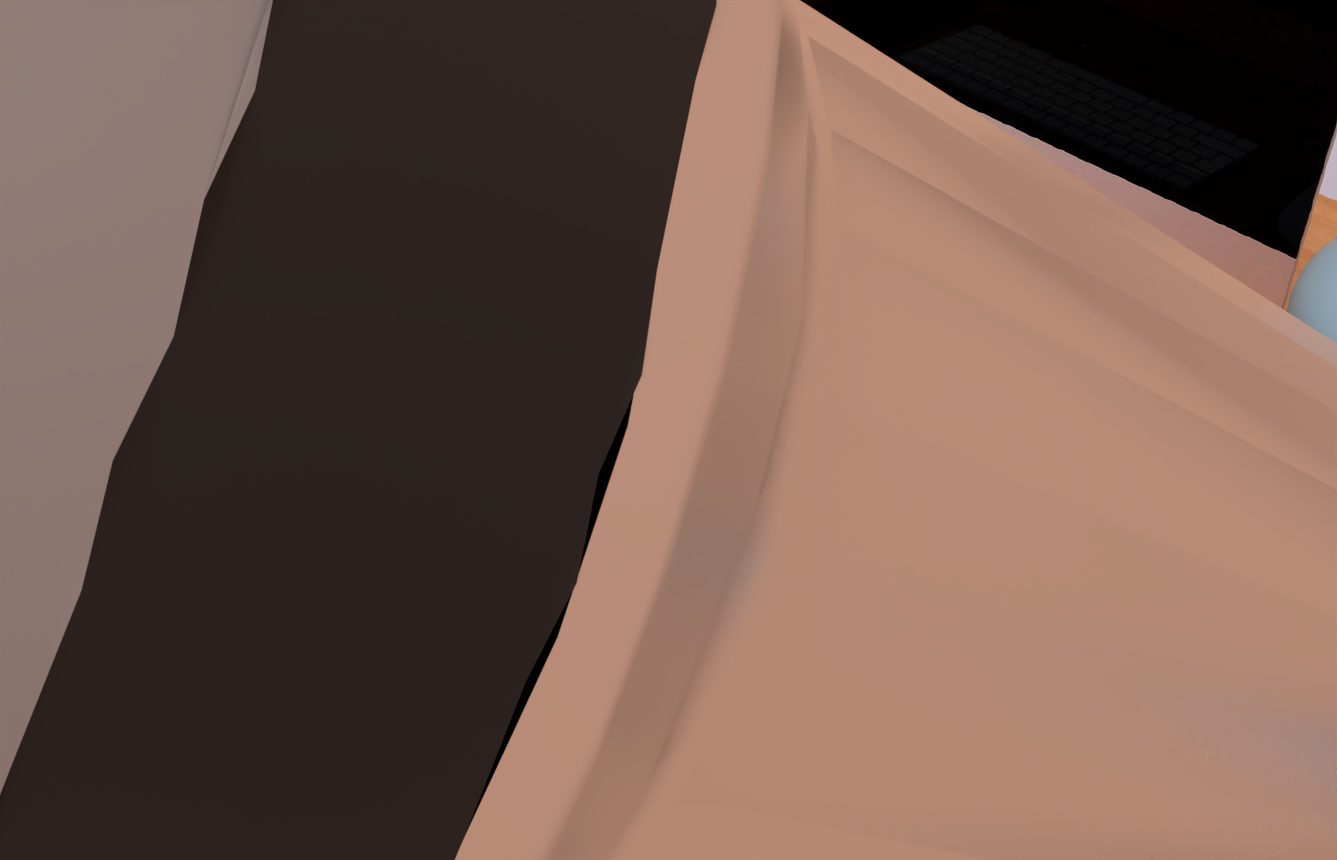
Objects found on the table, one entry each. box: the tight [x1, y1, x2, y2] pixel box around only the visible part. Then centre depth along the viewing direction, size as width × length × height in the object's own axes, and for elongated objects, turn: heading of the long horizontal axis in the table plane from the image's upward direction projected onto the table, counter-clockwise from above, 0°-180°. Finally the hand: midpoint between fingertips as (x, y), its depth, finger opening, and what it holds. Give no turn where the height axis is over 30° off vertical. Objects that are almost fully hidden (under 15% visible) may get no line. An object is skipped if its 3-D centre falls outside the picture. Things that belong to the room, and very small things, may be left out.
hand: (556, 616), depth 50 cm, fingers open, 13 cm apart
